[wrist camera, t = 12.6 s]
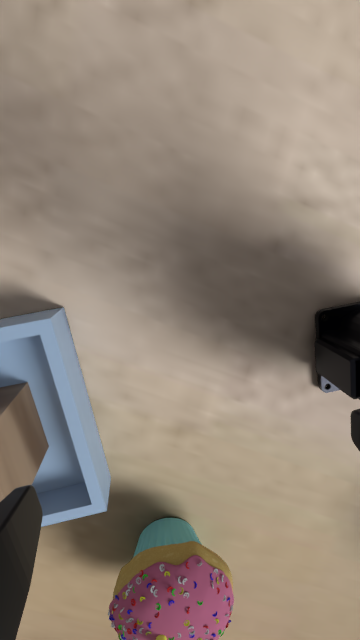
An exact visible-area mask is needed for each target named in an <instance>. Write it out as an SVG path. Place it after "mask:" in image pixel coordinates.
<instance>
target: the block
mask: <svg viewBox="0 0 360 640" xmlns="http://www.w3.org/2000/svg"><path fill="white" fill-rule="evenodd" d="M48 448H49V445H48V442H47V439H46V436H45V433H44V430H43V427H42V423H41V420H40V417H39V414H38V411H37V408H36V405H35V402H34V399H33V396H32V393H31V390H30V387H29V384H28V382H25V383H20V384H15V385H10V386H5V387H0V502H1V501H2V500H3V499H4V498H5V497H6V496H7V495H8V494H10V493H11V492H12V491H13V490H14V489H15V488H18V487H22V486H26V485H32V483H33V481H34V479H35V476H36V474H37V472H38V470H39V468H40V465H41V463H42V461H43V459H44V456H45V454H46V452H47V450H48Z"/></svg>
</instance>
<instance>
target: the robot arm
mask: <svg viewBox="0 0 360 640" xmlns="http://www.w3.org/2000/svg"><path fill="white" fill-rule="evenodd" d="M324 314H325V318H324V319H322V316H323V315H324ZM315 323H316V341H315V357H316V372H317V373H318V383H319V388H320V389H321V390H322V391H323V392H325V393H328V392H333V391H337V390H342V391H343V392H344V393H346V394H347V395H348V396H350V397H351V398H352V399H360V302H356V303H351V304H346V305H341V306H336V307H331V308H327V309H322V310H319V311H318V312H317V313H316V316H315ZM326 384H328V385H327V387H325V385H326ZM351 437H352V440H353V442H354V444H355V445H356V447H357V448H358V450H359V451H360V409H357V410H354V411H352V413H351ZM42 518H43V511H42V507H41V504H40V501H39V499H38V496H37V493H36V490H35V488H34V487H33V486H32V485H26V486H22V487H18V488H15V489H14V490H13V491H12V492H11V493H10V494H8V495H7V496H6V497H5V498H4V499H3V500H2V501H1V502H0V640H15V639H16V635H17V632H18V628H19V625H20V621H21V617H22V614H23V610H24V607H25V603H26V599H27V595H28V592H29V588H30V583H31V579H32V574H33V568H34V563H35V557H36V551H37V546H38V540H39V535H40V529H41V524H42Z"/></svg>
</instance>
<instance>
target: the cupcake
mask: <svg viewBox="0 0 360 640" xmlns="http://www.w3.org/2000/svg"><path fill="white" fill-rule="evenodd" d="M233 603H234V597H233V582H232V576H231V572H230V570H229V568H228V566H227V564H226V563H225V562H224V561H223V560H222V559H221V557H220V556H218V555H217V554H216V553H214V552H212V551H211V550H209V549H208V548H206V547H204V546H203V545H202V544H201V543H200V541H199V539H198V537H197V536H196V534H195V532H194V530H193V528H192V527H191V525H190V524H188V523H187V522H186V521H184V520H181V519H178V518H163V519H159V520H156V521H154V522H152V523H151V524H149V525H148V526H147V527H146V528H145V529H144V530H143V532H142V533H141V535H140V537H139V540H138V544H137V547H136V550H135V553H134V556H133V558H132V560H131V561H130V562H129V563H127V564H126V565H125V566H124V567H123V568H122V569H121V571H120V573H119V576H118V579H117V582H116V586H115V588H114V592H113V600H112V602H111V603H110V605H109V613H108V615H110V616H109V619H110V620H111V621H112V625H111V626H112V628H113V627H114V629H115V630H116V631H117V633H118V635H119V639H120V640H218V638H219V637H221V636H222V634H223V633H224V630H225V628H227V627H228V623H230V622H231V620H229V618H230V615H231V612H232V610H233Z"/></svg>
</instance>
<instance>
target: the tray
mask: <svg viewBox="0 0 360 640" xmlns="http://www.w3.org/2000/svg"><path fill="white" fill-rule="evenodd" d="M25 382H28V384H29V387H30V390H31V393H32V396H33V399H34V402H35V405H36V408H37V411H38V414H39V417H40V420H41V423H42V427H43V430H44V433H45V436H46V439H47V442H48V445H49V448H48V450H47V452H46V454H45V456H44V459H43V461H42V463H41V465H40V468H39V470H38V472H37V474H36V476H35V479H34V481H33V483H32V486H33V487H34V488H35V490H36V493H37V496H38V499H39V501H40V504H41V507H42V511H43V518H42V524H41V527H43V526H47V525H51V524H55V523H59V522H64V521H68V520H72V519H76V518H80V517H84V516H88V515H93V514H97V513H101V512H105V511H107V505H108V497H109V490H110V482H111V476H110V472H109V469H108V465H107V462H106V458H105V454H104V451H103V447H102V444H101V440H100V436H99V433H98V429H97V425H96V422H95V418H94V415H93V411H92V407H91V404H90V400H89V397H88V393H87V389H86V386H85V382H84V379H83V375H82V371H81V368H80V364H79V361H78V357H77V353H76V350H75V346H74V342H73V339H72V335H71V332H70V328H69V324H68V321H67V317H66V314H65V310H64V307H62V308H57V309H51V310H46V311H41V312H35V313H30V314H25V315H19V316H14V317H9V318H3V319H0V387H5V386H10V385H15V384H20V383H25Z"/></svg>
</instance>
